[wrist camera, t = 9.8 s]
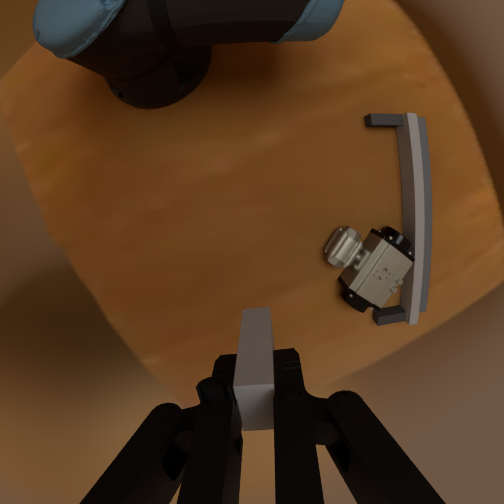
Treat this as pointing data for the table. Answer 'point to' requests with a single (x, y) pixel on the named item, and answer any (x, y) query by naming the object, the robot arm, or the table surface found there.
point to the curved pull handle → (411, 213)
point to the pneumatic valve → (369, 265)
